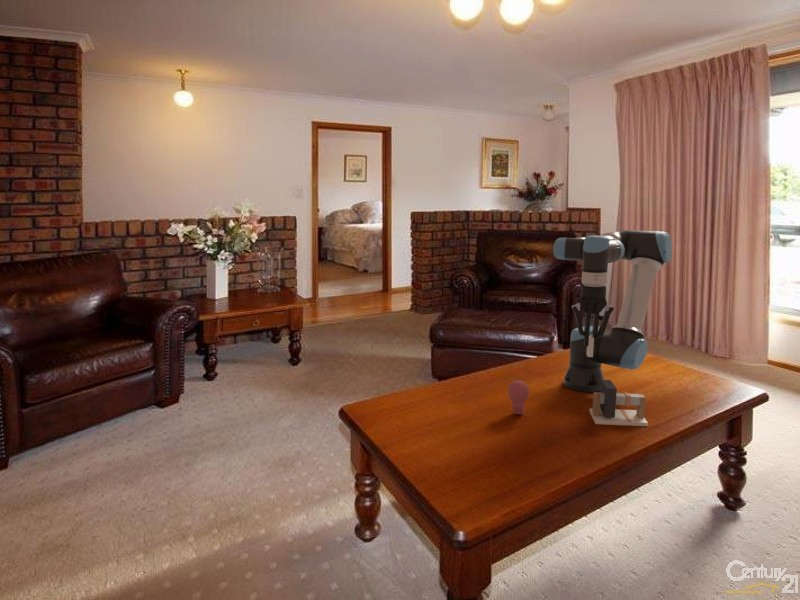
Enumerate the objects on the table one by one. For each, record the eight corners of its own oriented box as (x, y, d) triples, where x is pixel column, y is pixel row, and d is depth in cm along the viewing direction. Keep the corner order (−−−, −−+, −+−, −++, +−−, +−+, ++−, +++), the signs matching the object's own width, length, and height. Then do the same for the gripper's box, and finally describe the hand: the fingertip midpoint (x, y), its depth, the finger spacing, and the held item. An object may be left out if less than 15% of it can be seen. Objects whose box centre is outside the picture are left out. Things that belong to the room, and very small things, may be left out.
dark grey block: (605, 417, 172) (606, 388, 170) (599, 407, 179) (601, 379, 177) (614, 417, 171) (616, 388, 169) (608, 407, 179) (610, 380, 177)
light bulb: (504, 410, 183) (505, 377, 181) (524, 409, 184) (525, 376, 181) (510, 418, 176) (511, 385, 174) (531, 417, 177) (532, 384, 174)
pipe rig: (595, 424, 171) (597, 398, 170) (589, 411, 181) (590, 387, 179) (647, 426, 169) (649, 400, 167) (638, 413, 179) (640, 389, 177)
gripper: (574, 286, 165) (570, 358, 169) (618, 286, 163) (613, 360, 167) (570, 282, 172) (567, 351, 177) (612, 282, 170) (607, 353, 175)
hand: (589, 355), depth 172 cm, fingers closed
